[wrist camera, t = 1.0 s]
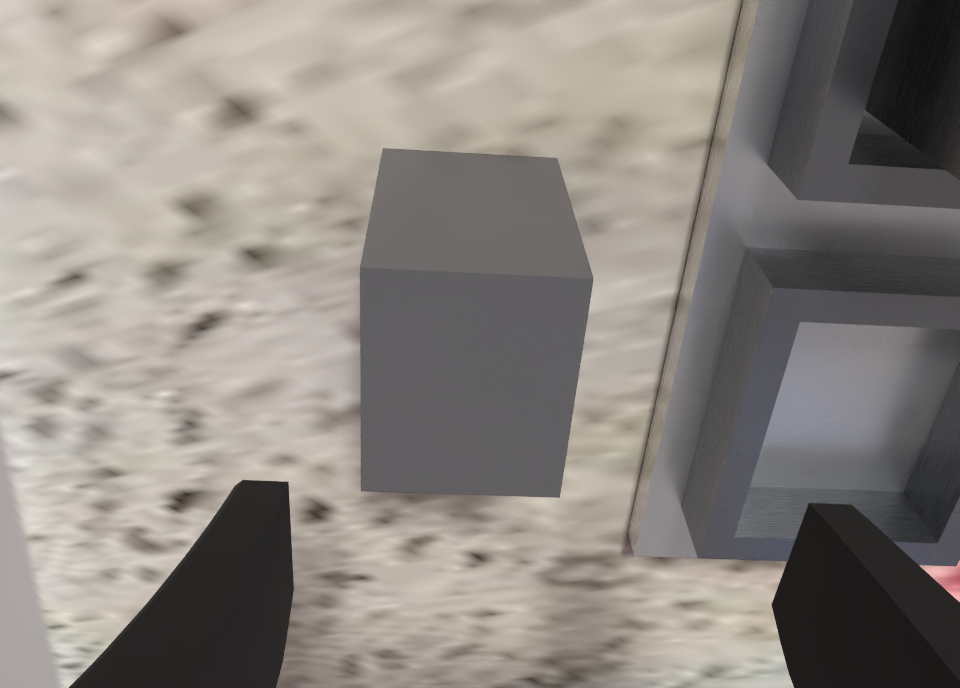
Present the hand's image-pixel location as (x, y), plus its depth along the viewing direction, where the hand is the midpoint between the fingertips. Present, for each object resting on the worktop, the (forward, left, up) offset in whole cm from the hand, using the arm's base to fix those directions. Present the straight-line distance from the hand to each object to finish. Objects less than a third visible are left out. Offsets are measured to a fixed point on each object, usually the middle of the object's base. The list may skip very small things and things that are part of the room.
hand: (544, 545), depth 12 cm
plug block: (-1, +1, -10) cm, 11 cm away
